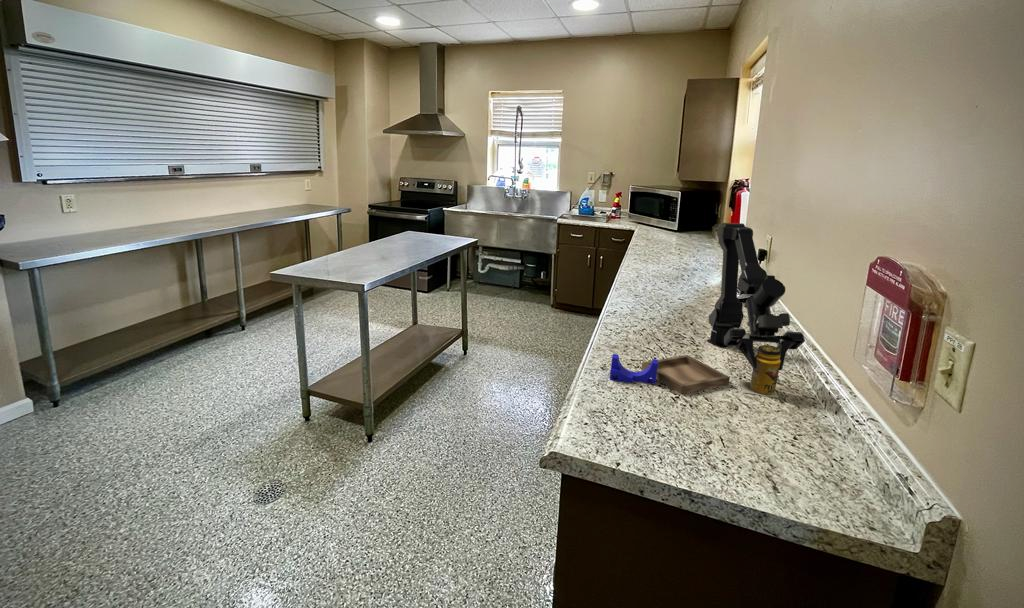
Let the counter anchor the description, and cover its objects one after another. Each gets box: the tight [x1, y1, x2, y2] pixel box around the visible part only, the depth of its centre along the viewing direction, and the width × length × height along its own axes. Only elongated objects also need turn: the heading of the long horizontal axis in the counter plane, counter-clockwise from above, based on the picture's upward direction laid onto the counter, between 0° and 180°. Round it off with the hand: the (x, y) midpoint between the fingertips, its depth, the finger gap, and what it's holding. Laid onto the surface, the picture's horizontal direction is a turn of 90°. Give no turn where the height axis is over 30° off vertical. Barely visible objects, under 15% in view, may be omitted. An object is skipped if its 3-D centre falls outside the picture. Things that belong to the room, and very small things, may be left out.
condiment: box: [739, 344, 781, 399], centre depth 131 cm, size 7×8×12 cm
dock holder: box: [641, 354, 731, 395], centre depth 139 cm, size 16×16×2 cm
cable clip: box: [609, 353, 659, 385], centre depth 136 cm, size 12×4×6 cm, turn 73°
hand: (767, 368), depth 130 cm, fingers closed on condiment, 6 cm apart
